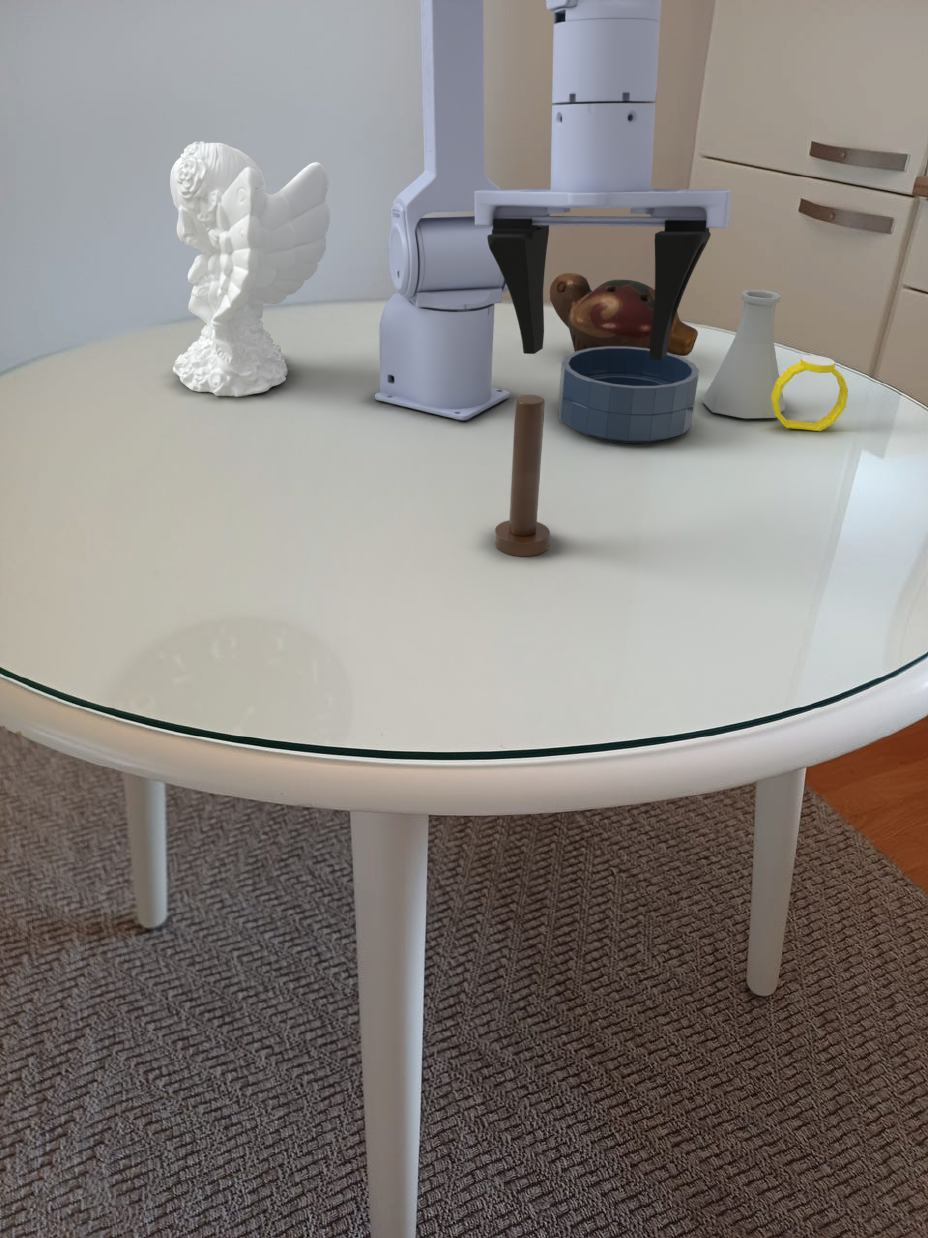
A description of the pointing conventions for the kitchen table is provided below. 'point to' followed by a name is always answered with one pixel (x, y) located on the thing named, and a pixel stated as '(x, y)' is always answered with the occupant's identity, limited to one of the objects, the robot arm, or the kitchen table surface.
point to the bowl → (627, 394)
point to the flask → (749, 363)
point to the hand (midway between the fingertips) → (594, 353)
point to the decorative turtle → (613, 314)
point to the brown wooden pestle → (525, 483)
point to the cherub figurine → (242, 261)
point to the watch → (818, 366)
